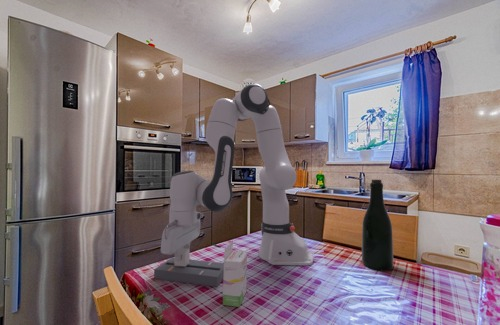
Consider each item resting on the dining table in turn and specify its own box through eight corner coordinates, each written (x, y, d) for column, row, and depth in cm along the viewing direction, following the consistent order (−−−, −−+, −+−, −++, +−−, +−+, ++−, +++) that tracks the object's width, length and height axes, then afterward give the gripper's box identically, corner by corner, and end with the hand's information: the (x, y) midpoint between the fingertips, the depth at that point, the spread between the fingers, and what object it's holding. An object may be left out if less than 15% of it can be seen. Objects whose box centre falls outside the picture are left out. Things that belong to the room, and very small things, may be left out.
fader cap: (189, 267, 76) (189, 248, 77) (184, 271, 74) (185, 251, 74) (178, 266, 77) (179, 247, 78) (174, 270, 74) (174, 250, 75)
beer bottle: (384, 260, 89) (383, 179, 90) (399, 272, 78) (398, 180, 80) (357, 259, 90) (357, 178, 91) (368, 270, 79) (368, 179, 81)
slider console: (227, 272, 77) (227, 263, 77) (217, 287, 67) (217, 276, 67) (171, 265, 82) (171, 257, 82) (154, 278, 72) (154, 269, 72)
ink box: (240, 308, 57) (241, 250, 58) (222, 305, 58) (223, 249, 59) (247, 290, 66) (248, 240, 66) (231, 288, 67) (232, 239, 67)
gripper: (174, 225, 65) (173, 272, 65) (203, 212, 85) (202, 248, 85) (155, 224, 67) (154, 270, 66) (188, 211, 86) (187, 247, 86)
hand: (182, 258), depth 76 cm, fingers closed on fader cap, 3 cm apart
